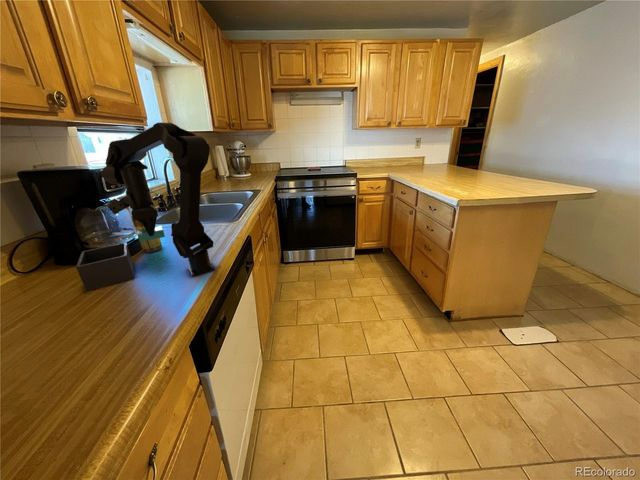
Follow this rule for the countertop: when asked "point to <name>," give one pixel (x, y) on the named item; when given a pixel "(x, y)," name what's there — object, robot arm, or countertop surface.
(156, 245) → the sauce bottle
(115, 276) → the trash bin
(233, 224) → the countertop surface
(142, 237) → the packet
